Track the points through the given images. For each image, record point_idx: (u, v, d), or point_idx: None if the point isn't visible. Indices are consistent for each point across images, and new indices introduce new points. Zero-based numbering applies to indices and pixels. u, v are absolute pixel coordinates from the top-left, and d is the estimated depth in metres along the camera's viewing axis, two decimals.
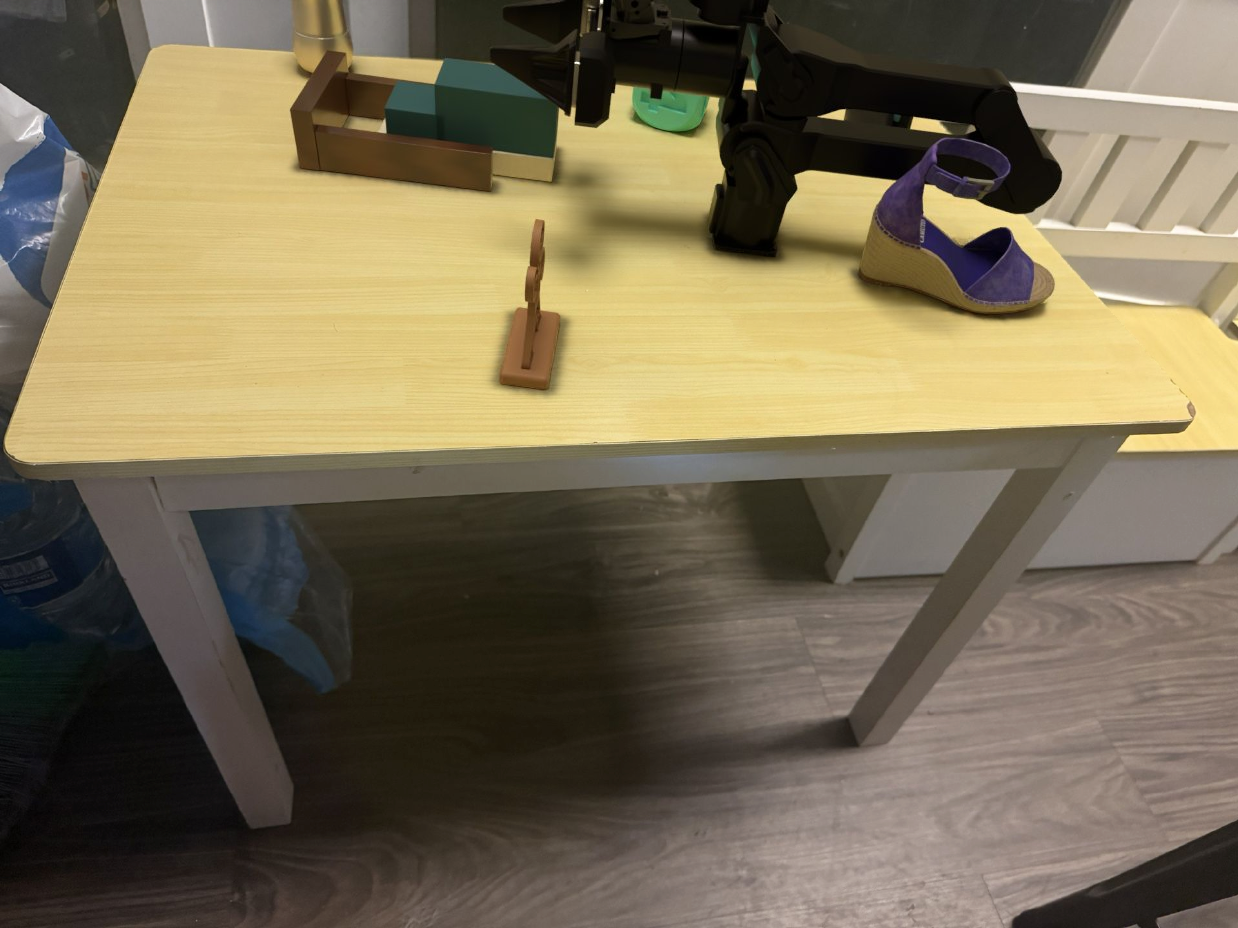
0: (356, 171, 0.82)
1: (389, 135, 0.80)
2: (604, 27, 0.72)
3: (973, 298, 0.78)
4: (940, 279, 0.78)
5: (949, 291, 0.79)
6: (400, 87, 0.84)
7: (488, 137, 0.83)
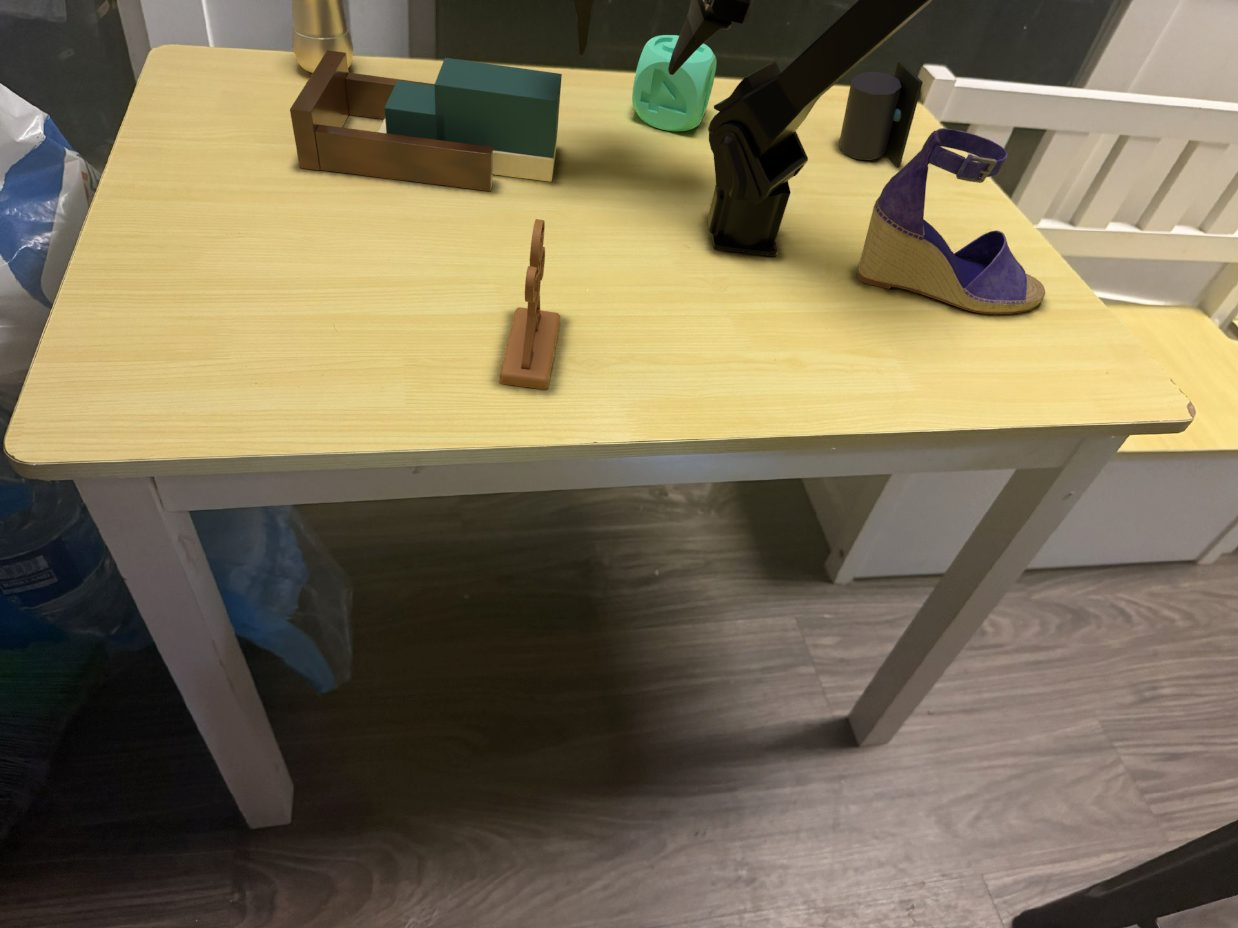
0: (356, 171, 0.82)
1: (389, 135, 0.80)
2: None
3: (973, 295, 0.79)
4: (941, 275, 0.78)
5: (949, 289, 0.79)
6: (400, 87, 0.84)
7: (488, 137, 0.83)
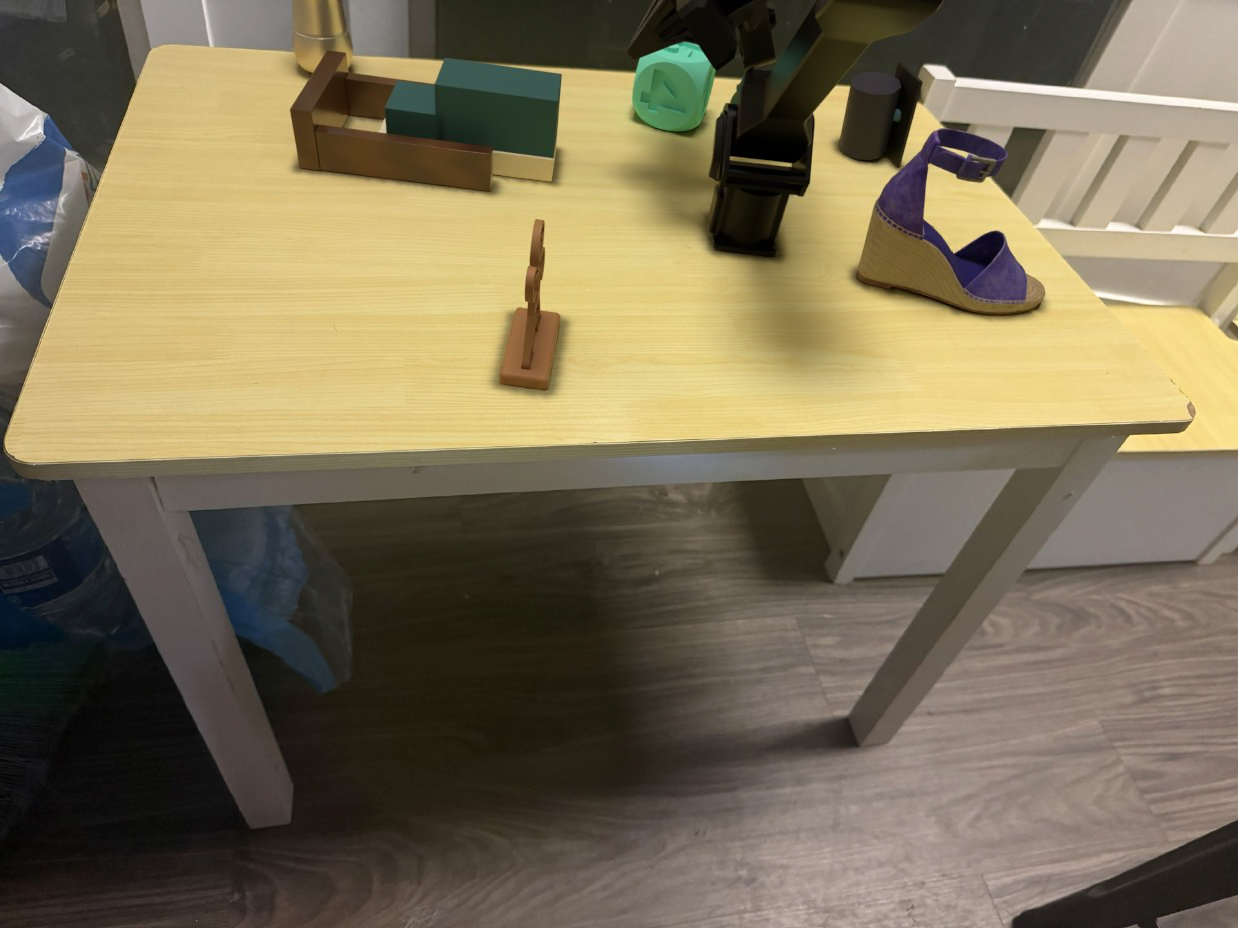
0: (356, 171, 0.82)
1: (389, 135, 0.80)
2: None
3: (973, 295, 0.79)
4: (941, 275, 0.78)
5: (949, 289, 0.79)
6: (400, 87, 0.84)
7: (489, 137, 0.83)
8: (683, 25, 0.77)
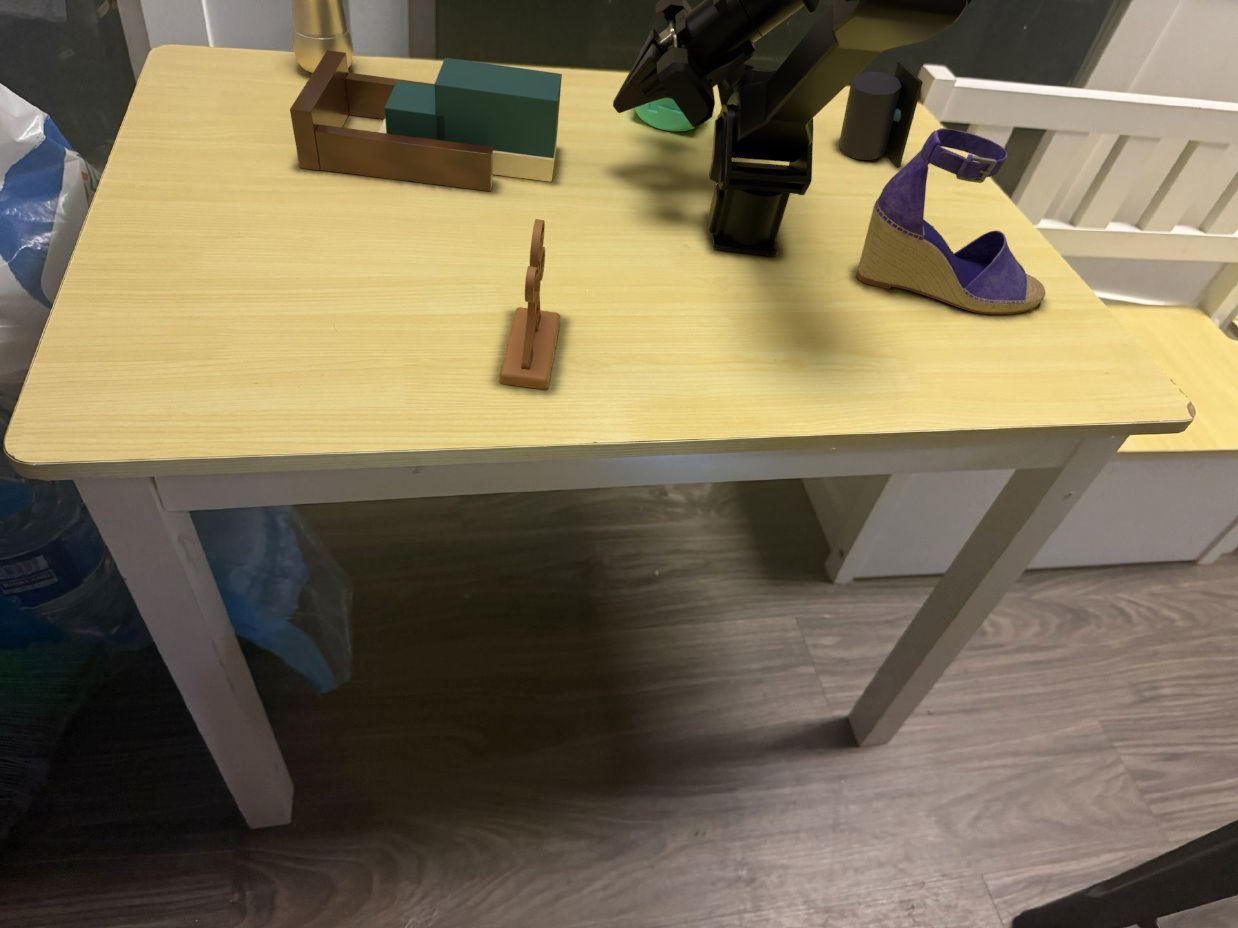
0: (356, 171, 0.82)
1: (389, 135, 0.80)
2: None
3: (973, 295, 0.79)
4: (941, 275, 0.78)
5: (949, 289, 0.79)
6: (400, 87, 0.84)
7: (489, 137, 0.83)
8: None
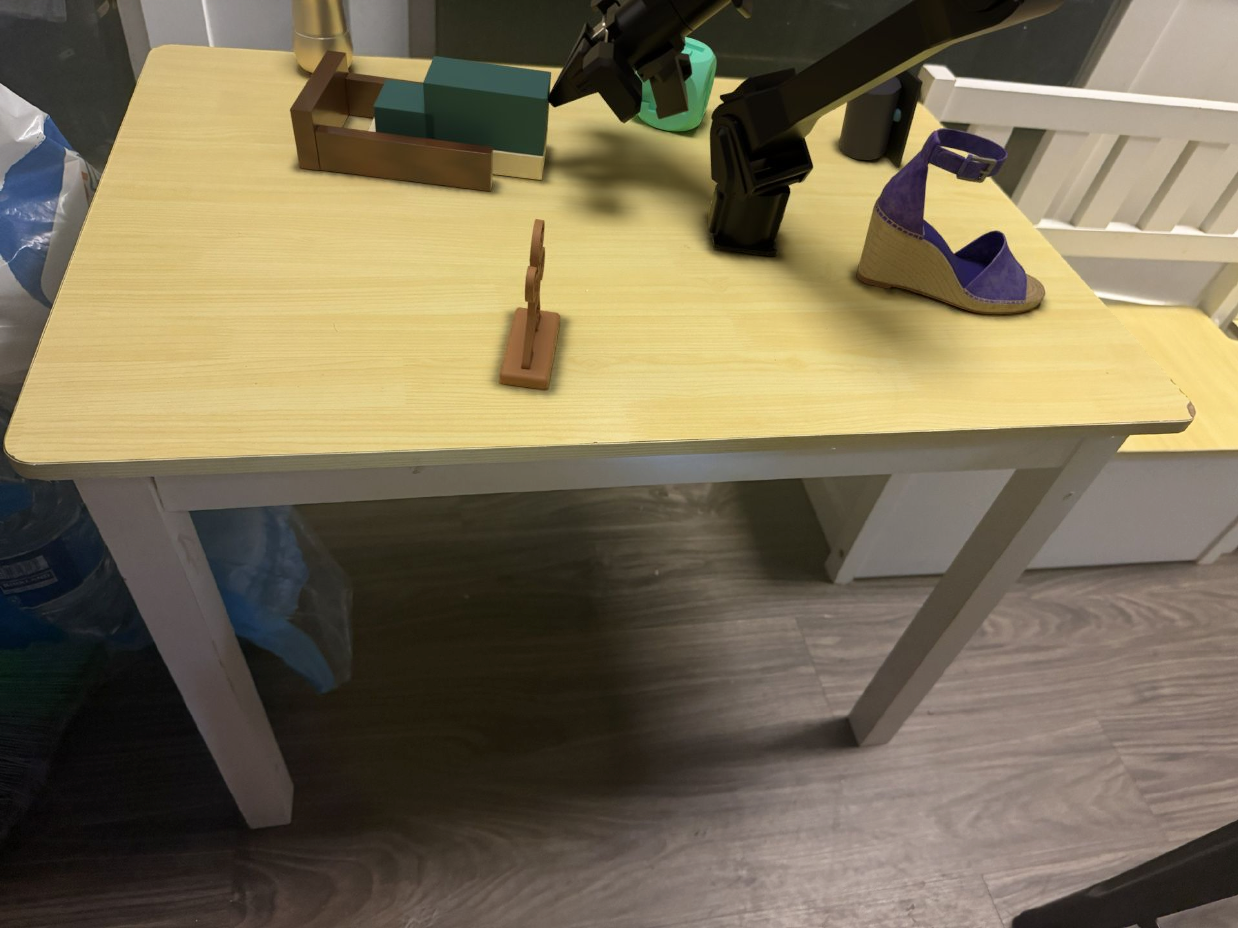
0: (356, 171, 0.82)
1: (389, 135, 0.80)
2: None
3: (973, 295, 0.79)
4: (941, 275, 0.78)
5: (949, 289, 0.79)
6: (389, 85, 0.84)
7: (478, 136, 0.83)
8: None
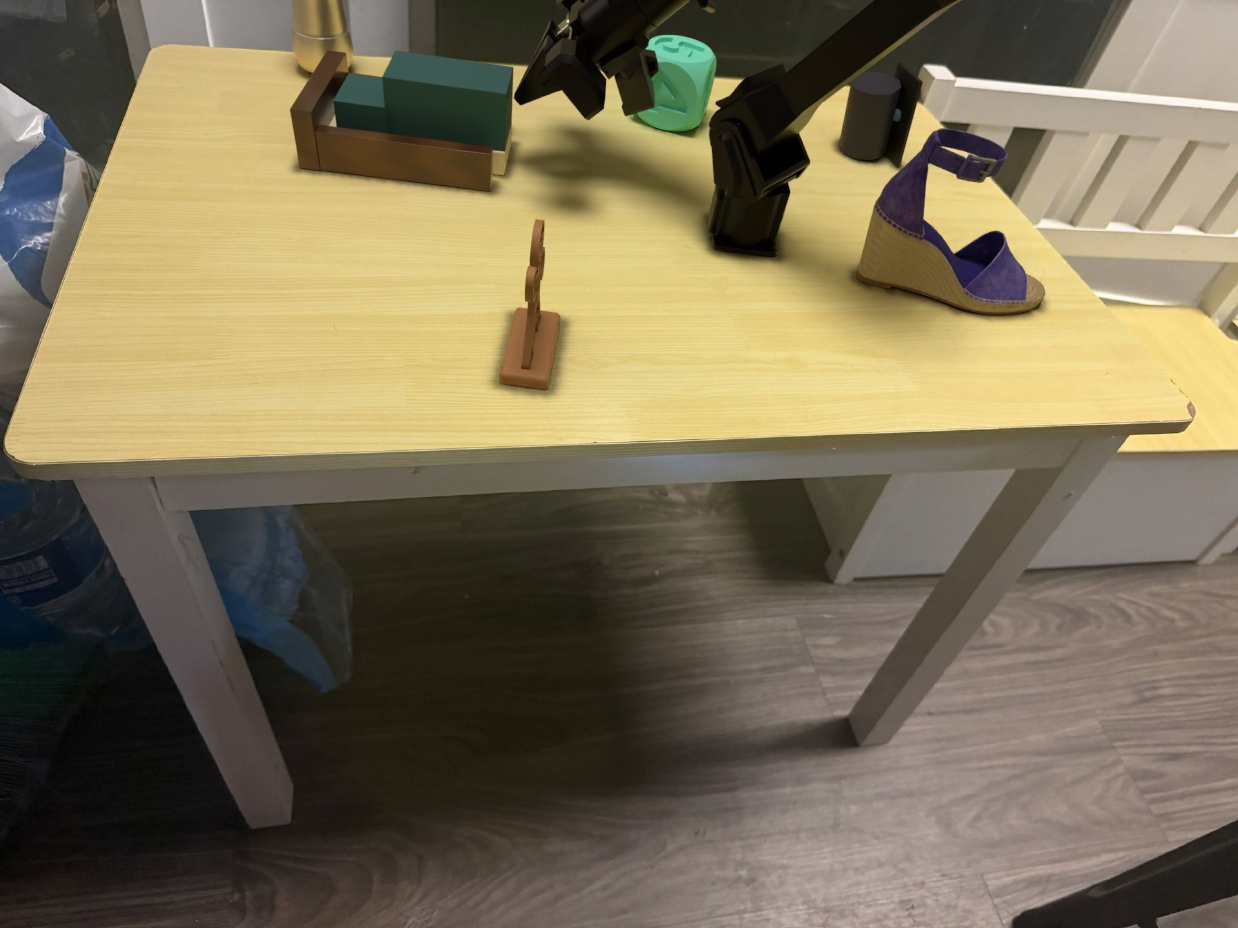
0: (356, 171, 0.82)
1: (389, 135, 0.80)
2: None
3: (973, 295, 0.79)
4: (941, 275, 0.78)
5: (949, 289, 0.79)
6: (351, 80, 0.84)
7: (439, 130, 0.83)
8: None
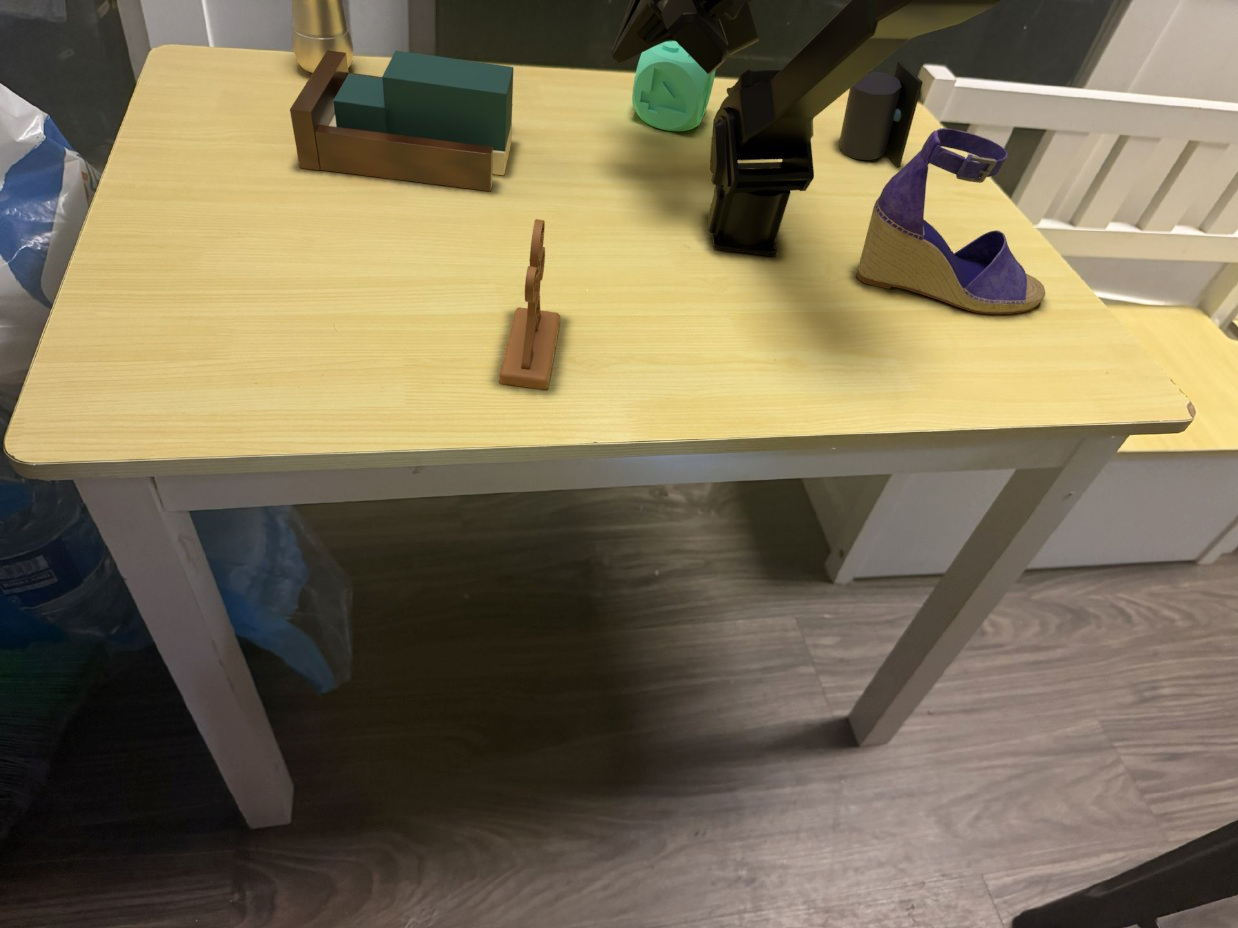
0: (356, 171, 0.82)
1: (389, 135, 0.80)
2: None
3: (973, 295, 0.79)
4: (941, 275, 0.78)
5: (949, 289, 0.79)
6: (351, 80, 0.84)
7: (439, 130, 0.83)
8: (665, 24, 0.78)
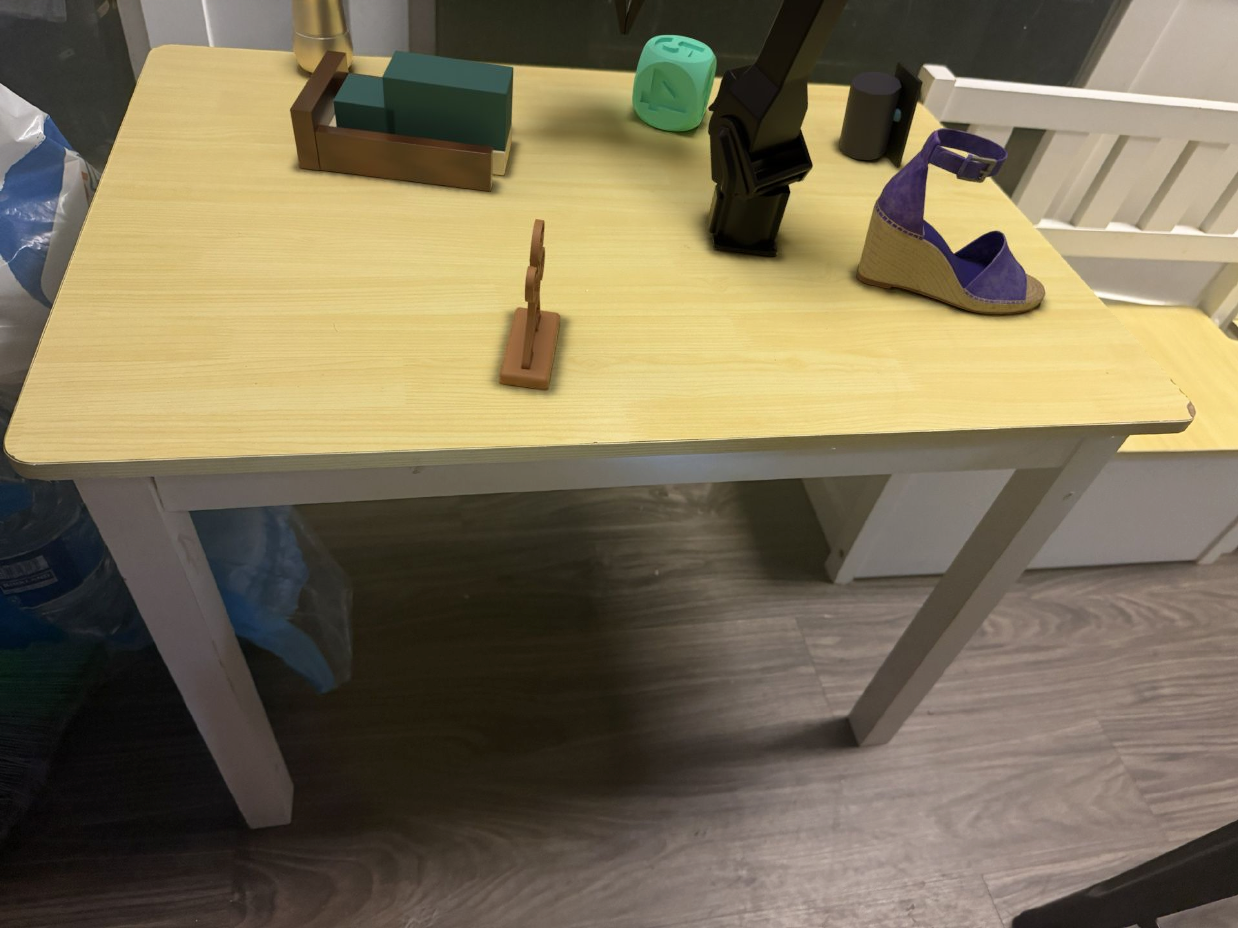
0: (356, 171, 0.82)
1: (389, 135, 0.80)
2: None
3: (973, 295, 0.79)
4: (941, 275, 0.78)
5: (949, 289, 0.79)
6: (351, 80, 0.84)
7: (439, 130, 0.83)
8: None
